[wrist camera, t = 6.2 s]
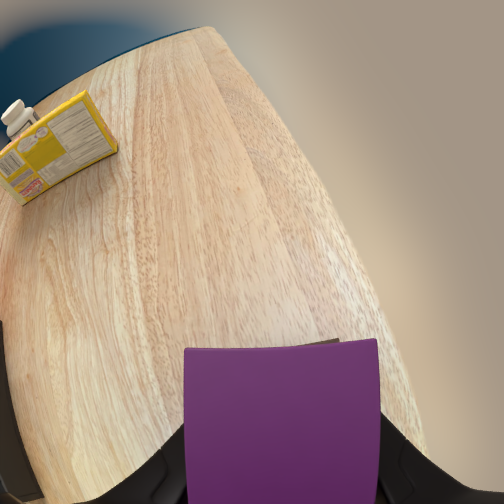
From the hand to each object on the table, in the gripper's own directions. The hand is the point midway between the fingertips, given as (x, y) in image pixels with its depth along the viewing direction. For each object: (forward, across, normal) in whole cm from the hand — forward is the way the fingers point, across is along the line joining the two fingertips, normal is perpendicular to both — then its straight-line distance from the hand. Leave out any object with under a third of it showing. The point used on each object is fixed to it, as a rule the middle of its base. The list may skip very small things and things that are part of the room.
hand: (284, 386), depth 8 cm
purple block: (+2, 0, +4) cm, 4 cm away
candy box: (+20, +24, -8) cm, 33 cm away
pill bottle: (+26, +34, -14) cm, 45 cm away
